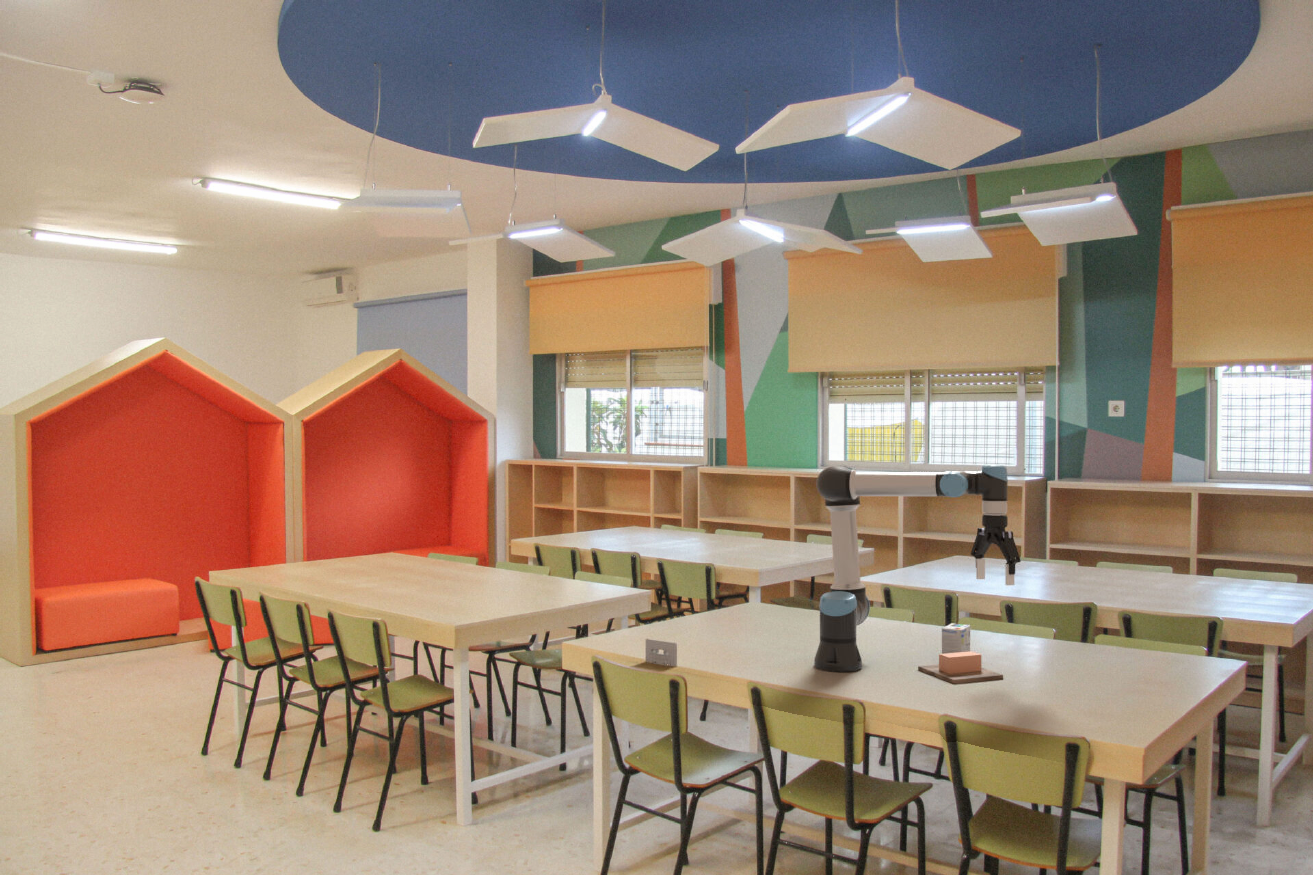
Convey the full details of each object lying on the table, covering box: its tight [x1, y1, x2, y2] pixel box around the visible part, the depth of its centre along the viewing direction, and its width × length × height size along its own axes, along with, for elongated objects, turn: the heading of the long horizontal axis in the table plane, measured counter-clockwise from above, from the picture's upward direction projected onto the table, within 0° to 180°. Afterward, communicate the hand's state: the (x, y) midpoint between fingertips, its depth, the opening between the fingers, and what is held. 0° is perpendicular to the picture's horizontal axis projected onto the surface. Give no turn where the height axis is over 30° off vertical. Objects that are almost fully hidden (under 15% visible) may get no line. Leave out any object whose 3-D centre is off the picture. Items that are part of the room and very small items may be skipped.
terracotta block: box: [938, 650, 982, 674], centre depth 286 cm, size 5×5×12 cm
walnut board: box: [917, 663, 1004, 685], centre depth 286 cm, size 18×18×1 cm
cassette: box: [645, 638, 678, 668], centre depth 299 cm, size 12×2×8 cm, turn 55°
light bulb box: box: [941, 622, 971, 654], centre depth 308 cm, size 11×7×11 cm, turn 144°
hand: (995, 582), depth 287 cm, fingers open, 13 cm apart
